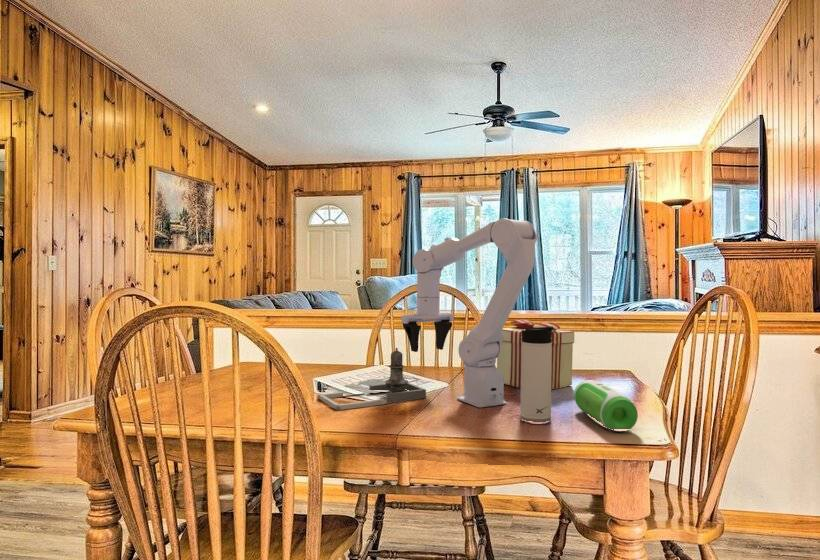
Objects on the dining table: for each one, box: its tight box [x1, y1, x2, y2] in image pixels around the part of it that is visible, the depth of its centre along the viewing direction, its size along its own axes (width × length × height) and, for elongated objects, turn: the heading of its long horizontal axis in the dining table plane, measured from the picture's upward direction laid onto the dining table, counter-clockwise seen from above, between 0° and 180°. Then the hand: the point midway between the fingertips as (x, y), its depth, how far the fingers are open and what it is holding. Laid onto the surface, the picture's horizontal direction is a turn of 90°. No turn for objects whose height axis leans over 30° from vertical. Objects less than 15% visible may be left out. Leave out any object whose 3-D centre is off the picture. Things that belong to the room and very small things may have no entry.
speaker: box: [573, 379, 639, 430], centre depth 120 cm, size 18×7×8 cm, turn 4°
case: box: [368, 382, 427, 404], centre depth 142 cm, size 10×10×2 cm
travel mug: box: [519, 326, 554, 422], centre depth 120 cm, size 6×7×20 cm
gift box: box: [496, 319, 575, 390], centre depth 157 cm, size 17×18×17 cm
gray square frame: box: [318, 391, 386, 411], centre depth 136 cm, size 12×12×1 cm
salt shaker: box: [384, 347, 409, 393], centre depth 142 cm, size 6×6×12 cm
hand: (427, 350), depth 147 cm, fingers open, 7 cm apart
